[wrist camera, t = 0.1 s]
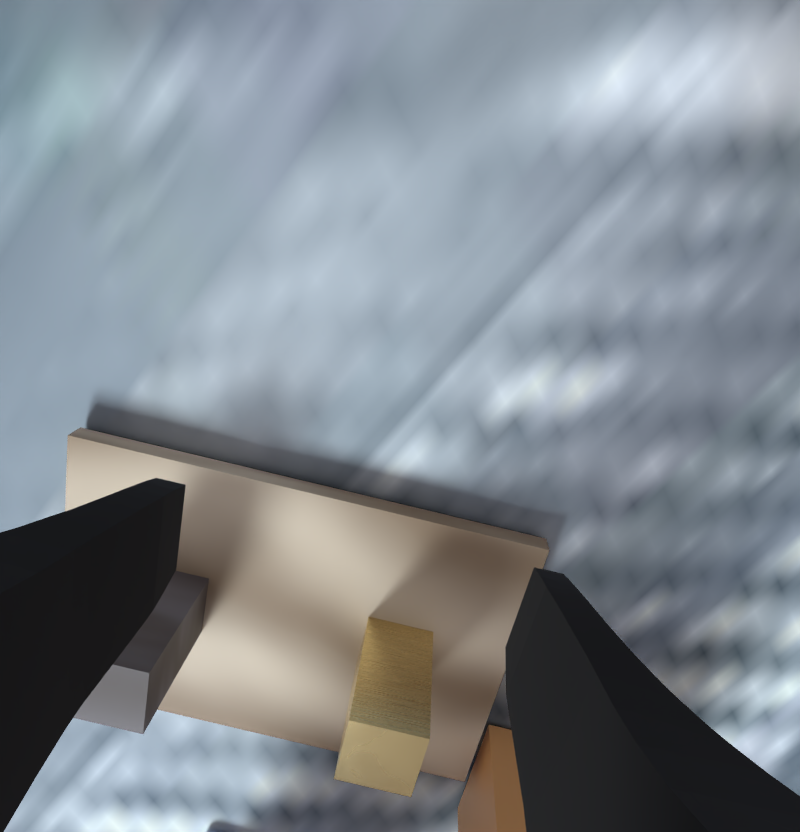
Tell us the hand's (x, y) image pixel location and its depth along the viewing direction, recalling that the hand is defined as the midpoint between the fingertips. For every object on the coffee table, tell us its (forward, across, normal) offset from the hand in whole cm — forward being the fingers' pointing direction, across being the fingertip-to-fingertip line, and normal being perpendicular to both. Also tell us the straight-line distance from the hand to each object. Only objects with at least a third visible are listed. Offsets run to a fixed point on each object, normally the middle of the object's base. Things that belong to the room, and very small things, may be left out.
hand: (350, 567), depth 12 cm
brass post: (+10, -2, +10) cm, 14 cm away
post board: (+10, +2, +10) cm, 14 cm away
